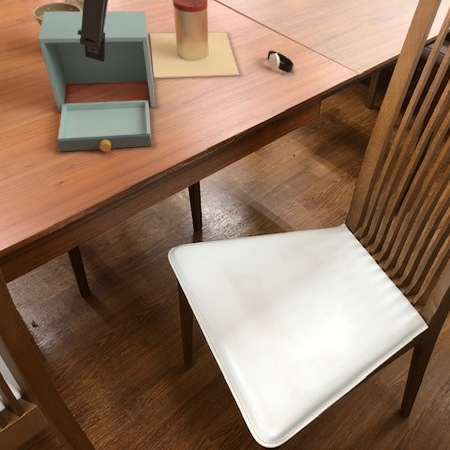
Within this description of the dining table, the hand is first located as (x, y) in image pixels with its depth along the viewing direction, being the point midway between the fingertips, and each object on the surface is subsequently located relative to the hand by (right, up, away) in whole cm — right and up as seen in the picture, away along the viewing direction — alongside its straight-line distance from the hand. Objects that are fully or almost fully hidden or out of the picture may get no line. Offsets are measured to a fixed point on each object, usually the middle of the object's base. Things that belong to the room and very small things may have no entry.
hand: (104, 21), depth 81 cm
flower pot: (-20, +6, +30) cm, 37 cm away
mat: (+7, +6, +34) cm, 36 cm away
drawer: (-4, -15, +12) cm, 20 cm away
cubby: (-7, -6, +20) cm, 22 cm away
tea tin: (+7, +7, +34) cm, 35 cm away
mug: (-22, +16, +40) cm, 49 cm away
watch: (+26, +3, +35) cm, 44 cm away
